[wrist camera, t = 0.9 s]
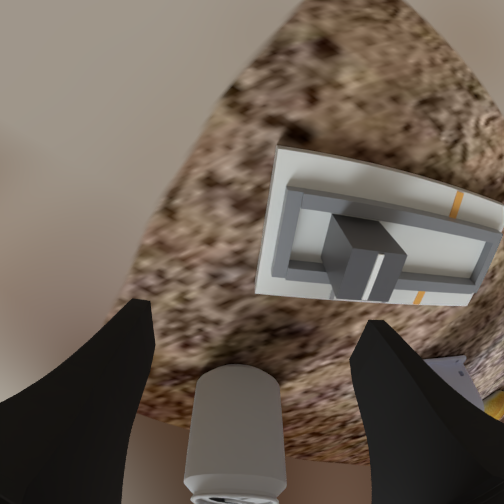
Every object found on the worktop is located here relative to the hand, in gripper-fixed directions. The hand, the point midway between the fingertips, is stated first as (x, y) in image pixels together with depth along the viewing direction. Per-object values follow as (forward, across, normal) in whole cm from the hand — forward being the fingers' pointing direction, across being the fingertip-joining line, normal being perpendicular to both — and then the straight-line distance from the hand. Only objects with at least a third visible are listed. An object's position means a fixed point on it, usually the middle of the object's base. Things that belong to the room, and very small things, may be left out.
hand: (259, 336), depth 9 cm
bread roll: (+10, -44, +27) cm, 53 cm away
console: (+9, -10, 0) cm, 13 cm away
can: (+10, 0, +16) cm, 19 cm away
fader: (+8, -6, 0) cm, 10 cm away
